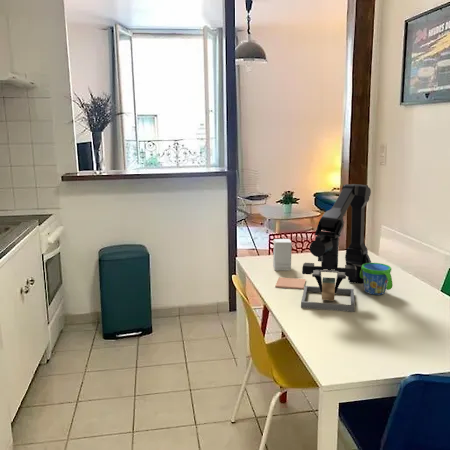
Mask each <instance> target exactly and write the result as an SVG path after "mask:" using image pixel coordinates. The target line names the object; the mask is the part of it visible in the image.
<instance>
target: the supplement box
mask: <svg viewBox="0 0 450 450" xmlns="http://www.w3.org/2000/svg"><path fill="white" fill-rule="evenodd" d="M292 247H293V246H292V241H291V239H290V238H274V239H273V255H272V256H273V260H272V263H273V265H272V266H273V269H274V271H291V270H292Z"/></svg>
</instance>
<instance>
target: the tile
mask: <svg viewBox="0 0 450 450" xmlns="http://www.w3.org/2000/svg"><path fill="white" fill-rule="evenodd" d="M306 282H307V279H306V278H293V277H281V276H280V277H278V279H277V281H276V283H275V288H281V289H295V290H304V287H305V286H306V285H305V284H306Z"/></svg>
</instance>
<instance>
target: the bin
mask: <svg viewBox="0 0 450 450" xmlns="http://www.w3.org/2000/svg"><path fill="white" fill-rule="evenodd" d="M318 292H320V293H321V291H320V288H319V286H315V285H305V286H304V289H303V292H302V297H301V301H300V308H302V309H303V308H304V309H314V310H325V311H326V310H327V311H338V312H339V311H341V312H354V313H355V309H356V308H355V307H356V306H355V304H356V303H355V291H354V288H345V287H344V288H343V287H342V288H341V287H338V289H337V292H336V294H335V295H348V296H350V304H345V303H330V302H318V301H317V302H316V301H306V298H307V295H308V293H318ZM320 293H319V294H320ZM321 294H322V293H321Z"/></svg>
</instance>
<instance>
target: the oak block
mask: <svg viewBox="0 0 450 450" xmlns="http://www.w3.org/2000/svg"><path fill="white" fill-rule="evenodd" d="M335 284H336V277H325V276H324V277H322V293H321V301H335V295H336V294H335Z"/></svg>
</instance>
